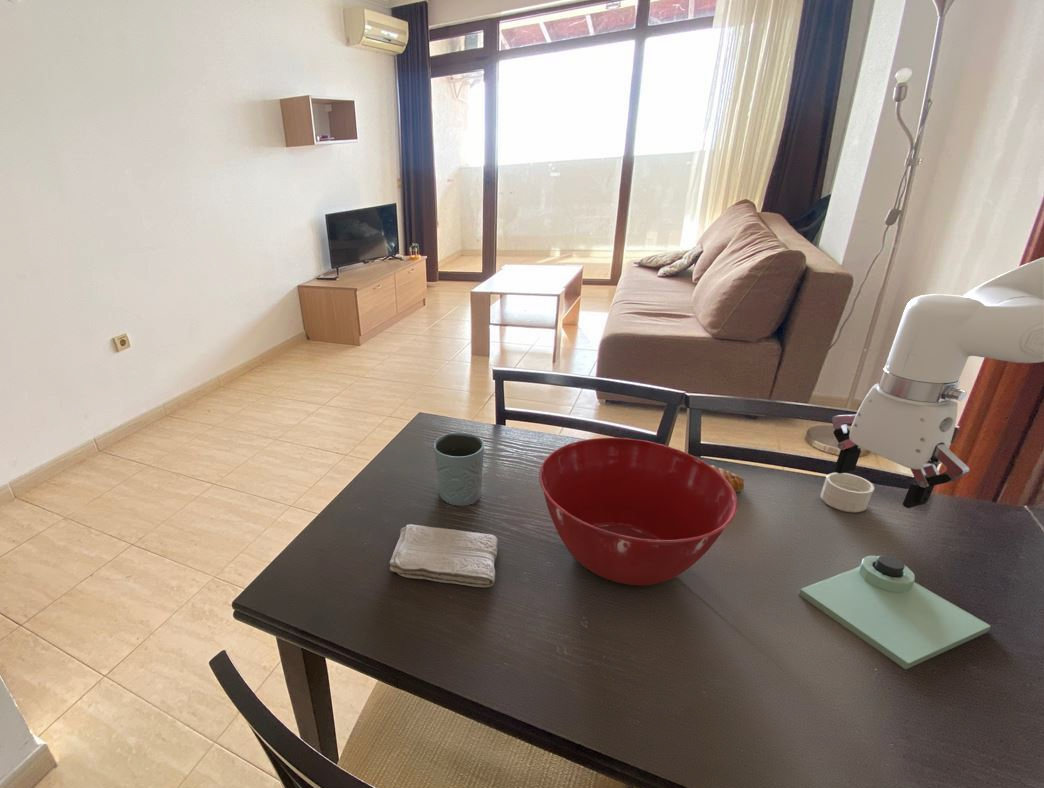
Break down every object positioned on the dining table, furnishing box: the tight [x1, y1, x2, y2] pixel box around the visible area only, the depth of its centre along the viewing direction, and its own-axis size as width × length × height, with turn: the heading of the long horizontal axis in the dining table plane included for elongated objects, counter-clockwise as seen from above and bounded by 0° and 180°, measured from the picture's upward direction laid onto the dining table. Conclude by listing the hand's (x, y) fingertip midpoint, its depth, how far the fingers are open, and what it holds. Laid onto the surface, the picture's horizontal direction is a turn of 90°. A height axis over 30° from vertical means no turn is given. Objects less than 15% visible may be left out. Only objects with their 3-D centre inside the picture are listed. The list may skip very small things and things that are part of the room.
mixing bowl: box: [538, 437, 739, 586], centre depth 89 cm, size 28×28×16 cm
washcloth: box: [389, 523, 499, 588], centre depth 94 cm, size 12×18×3 cm, turn 75°
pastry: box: [710, 464, 745, 493], centre depth 107 cm, size 9×7×4 cm
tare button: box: [874, 554, 906, 578], centre depth 81 cm, size 3×3×2 cm
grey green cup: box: [433, 432, 485, 506], centre depth 110 cm, size 10×10×12 cm
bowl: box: [820, 472, 875, 513], centre depth 99 cm, size 7×7×5 cm
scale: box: [798, 555, 992, 670], centre depth 77 cm, size 16×14×3 cm
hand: (876, 487), depth 82 cm, fingers open, 9 cm apart
